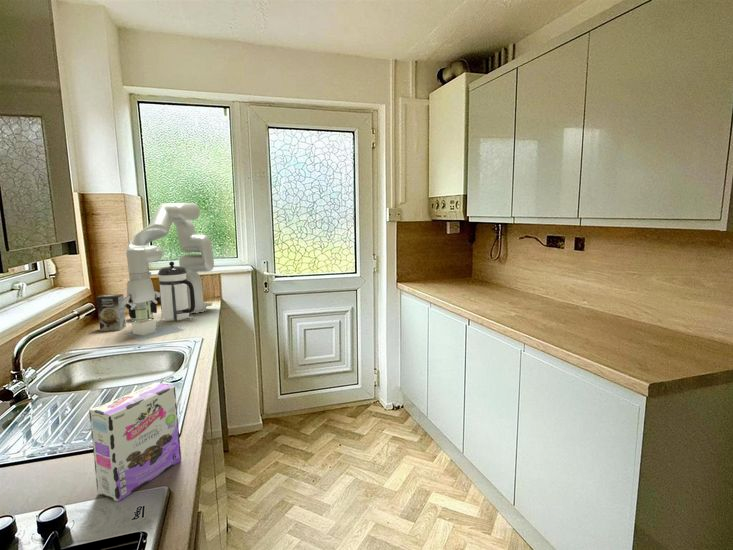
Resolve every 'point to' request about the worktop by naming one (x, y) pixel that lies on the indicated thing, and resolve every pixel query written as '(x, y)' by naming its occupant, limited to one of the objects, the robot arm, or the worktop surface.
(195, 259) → the robot arm
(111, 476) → the candy box
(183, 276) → the coffee press
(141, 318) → the coffee can
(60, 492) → the worktop surface
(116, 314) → the coffee box
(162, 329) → the base plate
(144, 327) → the white striped cube
